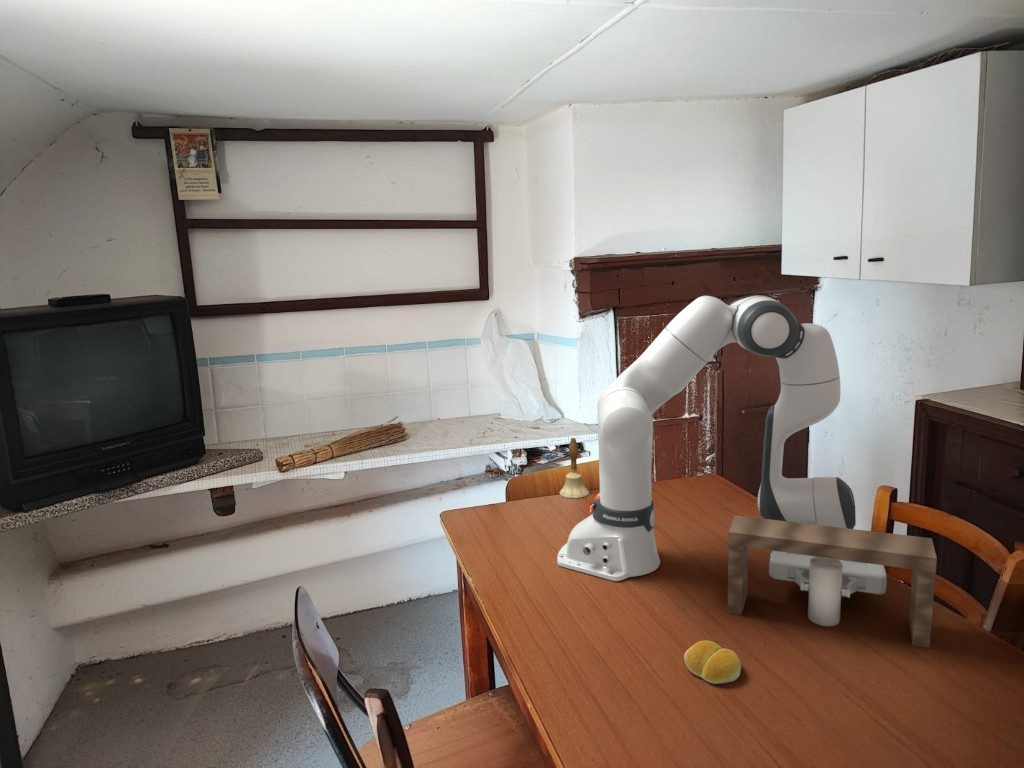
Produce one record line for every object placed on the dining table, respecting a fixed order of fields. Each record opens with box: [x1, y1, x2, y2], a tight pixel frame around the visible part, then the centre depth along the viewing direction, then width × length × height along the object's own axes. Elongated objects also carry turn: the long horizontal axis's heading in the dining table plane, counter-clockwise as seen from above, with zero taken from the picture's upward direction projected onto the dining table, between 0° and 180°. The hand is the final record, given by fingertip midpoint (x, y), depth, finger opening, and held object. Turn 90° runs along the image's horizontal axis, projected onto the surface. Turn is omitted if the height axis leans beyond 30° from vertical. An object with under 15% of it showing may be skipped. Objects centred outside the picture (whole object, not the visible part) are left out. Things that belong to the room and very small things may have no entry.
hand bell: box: [559, 437, 590, 499], centre depth 195 cm, size 8×8×16 cm
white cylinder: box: [807, 557, 843, 627], centre depth 129 cm, size 5×5×11 cm
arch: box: [727, 515, 938, 649], centre depth 128 cm, size 33×8×16 cm, turn 65°
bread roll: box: [683, 640, 742, 685], centre depth 117 cm, size 8×9×4 cm
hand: (825, 590), depth 128 cm, fingers closed on white cylinder, 5 cm apart
